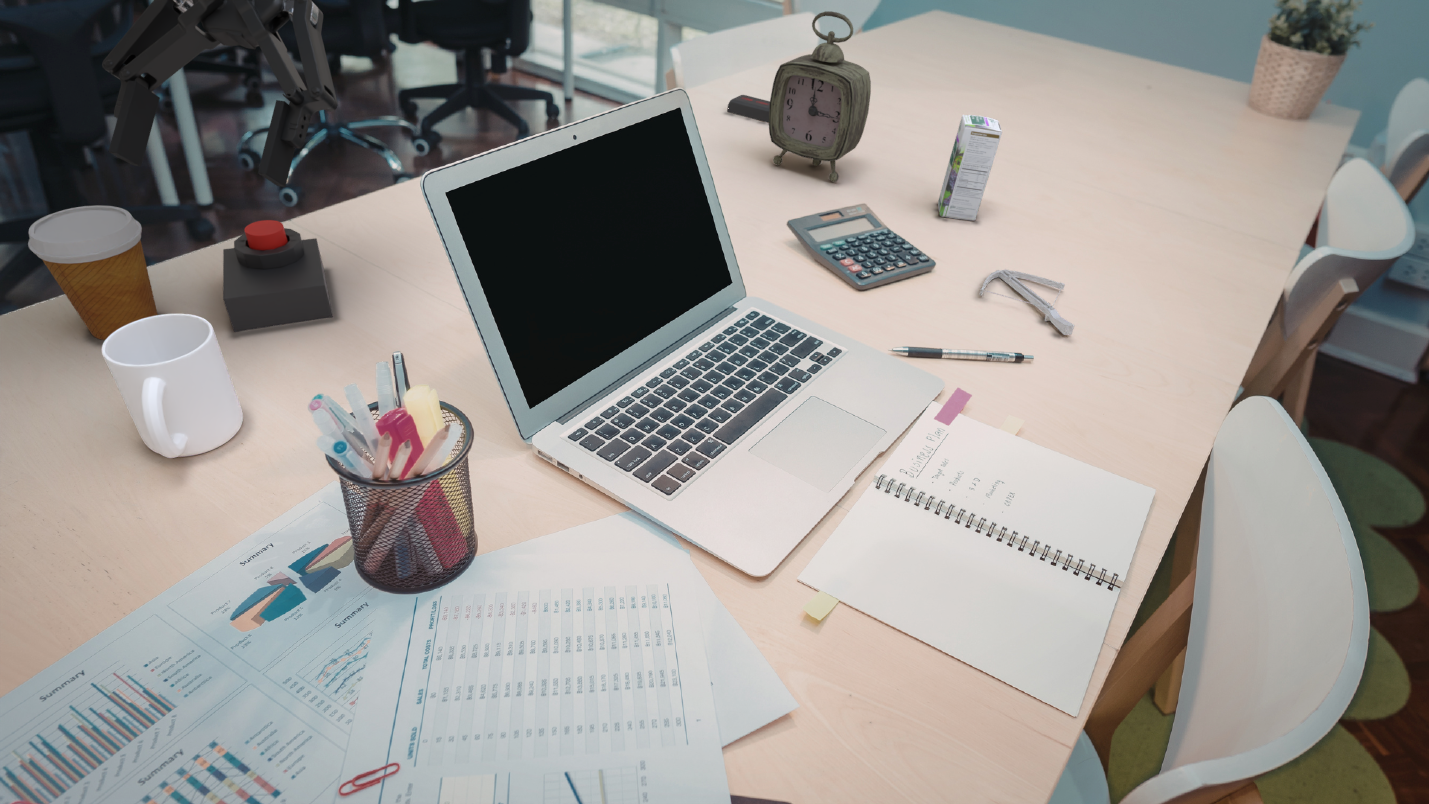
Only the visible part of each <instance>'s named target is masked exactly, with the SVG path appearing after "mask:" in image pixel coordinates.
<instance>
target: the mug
mask: <svg viewBox="0 0 1429 804" xmlns="http://www.w3.org/2000/svg"><path fill="white" fill-rule="evenodd" d="M101 355H102V357H103V359H104V362H105V364H106V365H107V368H108V370H109V372H110V373H111V376H112V378H113V381H114V383H115V385H116V388H117V390H118V392H119V393H120V396H121V398H122V400H123V402H124V404H125V406H126V409H127V411H128V413H129V415H130V417H131V420H132V421H133V423H134V425H135V428H136V430H137V432H138V434H139V437H140V438H141V440H142V441H143V443H144V444H145V445H146V447H147V448H148V449H149V450H151V451H153V452H154V453H156V454H159V455H161V456H163V457H165V458H168V459H173V458H174V459H175V458H177V457H178V458H179V457H181V458H182V457H183V458H184V457H192V456H197V455H201V454H204V453H208V452H211V451H213V450H215V449H217V448H219V447H220V446H223V445H224V444H226V443H227V442H229V441H230V440H231V439H232V438H234V436H236V435H237V433H238V432H239V431H240V429H241V427H242V424H243V422H244V421H243V420H244V414H243V409H242V406H241V403H240V399H239V397H238V394H237V391H236V389H235V386H234V383H233V379H232V377H231V374H230V372H229V369H228V366H227V363H226V361H225V358H224V355H223V353H222V349H221V346H220V344H219V341H218V338H217V335H216V331H215V329H214V327H213V325H212V324H211V322H209V320H207V319H205V318H204V317H201V316H200V315H195V314H191V313H165V314H163V313H162V314H158V315H156V316H152V317H147V318H144V319H140V320H137V321H134V322H132V323H129V324H127V325H125V326H123V327H121V328H119V329H118V330H116V331H115V332H113V333H112V334H111V335H110V336H109V337H108V338H107V339H106V340H103V343H102V345H101Z"/></svg>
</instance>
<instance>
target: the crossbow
mask: <svg viewBox="0 0 1429 804" xmlns="http://www.w3.org/2000/svg"><path fill="white" fill-rule="evenodd" d="M997 278H999V279H1001V280H1002V281H1004V282H1005V283H1006V284H1007V285H1009V286H1010V287H1011V288H1012V289H1013V290H1015V291H1016V292H1017V293H1019V294H1020V295H1021V296H1022V297H1023V298H1024V299H1026V300H1027V301H1025V300H1021V299H1018V298H1015V297H1010V296H1008V295H1004V294H999V293H996V292H993V291H989V290H985V289H986V287H987V286H988V284H989V283H990V282H991V281H992V280H994V279H997ZM1019 279H1023V280H1027V281H1031V282H1035V283H1038V284H1042V285H1046V286H1049V287H1053V288H1054V289H1059V291H1058V293H1057V296H1056V298H1055V299H1054V302H1053V303H1052V305H1051V303H1050V302H1048V301H1047V300H1045V298H1042V297H1041V296H1040V295H1039V294H1037V293H1036V292H1035V291H1033V290H1032V288H1029V287H1028V286H1027V285H1026V284H1025V283H1023V282H1022V281H1020V280H1019ZM1065 286H1066V284H1065V283H1064V282H1058V281H1055V280H1052V279H1049V278H1045V277H1042V276H1038V275H1034V274H1030V273H1026V272H1022V271H1018V270H1010V269H1006V268H1005V269H1000V270H999V269H997V270H995V271H993V272H991V273H990V274H989V275H988V276H987V277H986V279H985V280H984V282H983V284H982V288H980V290H979V296H983V294H984V292H986V293H991V294H994V295H996V296H1001V297H1004V298H1009V299H1012V300H1016V301H1020V302H1023V303H1026V304H1031V305H1033V306H1034V307H1036V308H1037V309H1038V310H1040V311H1041V312H1042V313H1043V314H1045V315H1044V322H1051V324H1053V325H1054V327H1055V328H1056V329H1057V330H1058V331H1059V332H1060V333H1061V334H1062V335H1063V336H1069V335H1070V336H1071V335H1072V334H1073V332H1074V328H1075V324H1074V323H1072V322H1070V321H1068V320H1067V319H1065V318H1064V317H1062V316H1061V315H1060V313H1059V311H1058V310H1057V309H1056V308H1054V305H1055V303H1056V301H1057V299H1058V297H1059V295H1060V293H1061V291H1062V290H1064V288H1065Z"/></svg>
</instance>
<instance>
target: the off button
mask: <svg viewBox="0 0 1429 804" xmlns="http://www.w3.org/2000/svg"><path fill="white" fill-rule="evenodd" d="M284 226H285V225H284V224H283V223H282V222H281V221H279V220H273V219H264V220H257V221H254V222H251V223H249V224H248V225H246V226H245V227H244V234H246V237H247V241H248V244H249V247H250V248H251V249H254V250H270V249H276V248H278V247H281V246H284V245H285V244H286V243H288V241H287V237H286V234H285V230H284V228H285V227H284Z"/></svg>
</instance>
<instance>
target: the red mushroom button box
mask: <svg viewBox="0 0 1429 804" xmlns="http://www.w3.org/2000/svg"><path fill="white" fill-rule="evenodd" d="M284 230H285V234H286V237H287V241H288V243H286V244H285V245H284V246H281V247H278V248H276V249H270V250H254V249H251V248H250V247H249V244H248V241H247V237H246V234H245V233H242V234H241V235H240V236H239V237H238V238H236V239H235V240H234V241H233V247H231V248H223V249H222V250H223V252H222V253H223V255H222V260H223V261H222V262H223V263H222V267H223V268H222V300H223V303H224V307H225V309H226V312H227V315H228V318H229V321H230V323H231V326H232V329H233V333H237V332H245V331H253V330H257V329H258V330H259V329H265V328H270V327H277V326H284V325H289V324H297V323H304V322H310V321H317V320H323V319H330V318H333V317H334V316H333V310H332V305H331V300H330V299H331V298H330V294H329V289H328V283H327V279H326V278H327V277H326V273H325V268H324V264H323V261H322V260H323V259H322V255H321V250H320V247H319V243H318V239H317V238H316V237H315V238H307V239H302V236H301V233H299V232H298V231H296V230H294V229H292V228H285V227H284Z"/></svg>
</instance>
